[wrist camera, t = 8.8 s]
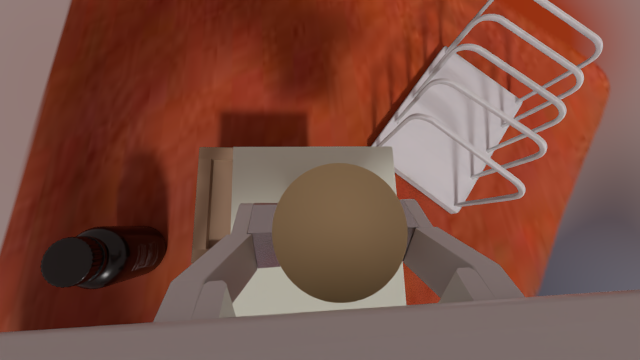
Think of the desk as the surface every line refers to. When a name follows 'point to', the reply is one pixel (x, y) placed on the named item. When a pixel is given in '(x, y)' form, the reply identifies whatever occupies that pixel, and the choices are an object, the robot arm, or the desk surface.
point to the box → (212, 199)
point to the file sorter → (470, 118)
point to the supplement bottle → (103, 256)
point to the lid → (324, 228)
